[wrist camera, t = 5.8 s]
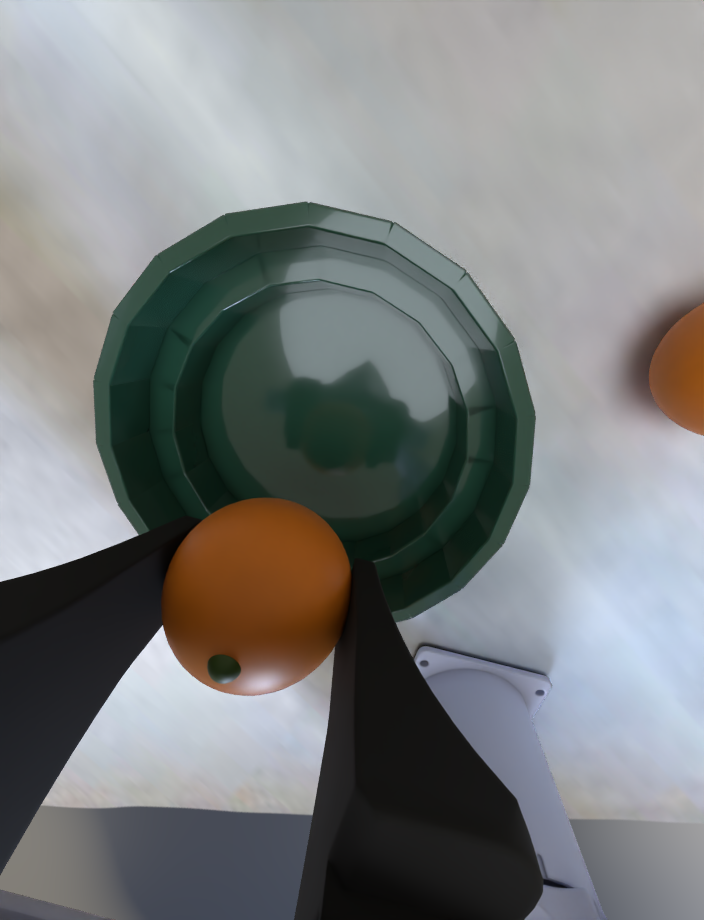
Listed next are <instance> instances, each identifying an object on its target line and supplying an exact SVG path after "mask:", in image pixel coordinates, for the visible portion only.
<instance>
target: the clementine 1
mask: <svg viewBox="0 0 704 920" xmlns="http://www.w3.org/2000/svg"><path fill="white" fill-rule="evenodd" d="M351 586H352V574H351V567H350V563H349V559H348V556H347V554H346V551H345V549H344V547H343V544H342V542H341V541H340V539H339V537H338V536H337V534H336V533H335V532H334V530H333V529H332V528H331V527H330V526H329V524H328V523H327V522H326V521H325V520H324V519H322V518H321V517H320V516H319V515H317V514H316V513H315V512H313V511H312V510H310V509H308V508H307V507H305V506H302V505H300V504H298V503H295V502H292V501H289V500H284V499H279V498H252V499H246V500H242V501H239V502H236V503H233V504H230V505H227V506H225V507H223V508H221V509H219V510H217V511H216V512H214V513H212V514H211V515H209V516H208V517H206V518H205V519H204V520H202V521H201V522H200V523H199V524H198V525H197V526H196V527H195V528H194V529H193V530H192V531H191V532H190V533H189V534H188V535H187V536H186V538H185V539H184V540H183V541H182V543H181V544H180V546H179V547H178V549H177V551H176V552H175V554H174V556H173V558H172V560H171V562H170V564H169V567H168V570H167V572H166V576H165V579H164V583H163V589H162V596H161V614H162V623H163V627H164V631H165V635H166V638H167V641H168V644H169V645H170V647H171V649H172V651H173V653H174V655H175V656H176V658H177V659H178V661H179V662H180V664H181V665H182V666H183V667H184V668H185V669H186V670H187V671H188V672H189V673H190V674H191V675H192V676H194V677H195V678H196V679H197V680H199V681H200V682H202V683H203V684H205V685H207V686H209V687H211V688H213V689H215V690H218V691H221V692H224V693H229V694H234V695H243V696H255V695H263V694H268V693H272V692H276V691H279V690H282V689H284V688H287V687H289V686H291V685H293V684H295V683H297V682H299V681H300V680H302V679H303V678H305V677H306V676H307V675H309V674H310V673H311V672H313V671H314V670H315V669H316V668H317V667H318V666H319V665H320V664H321V663H322V662H323V661H324V660H325V659H326V658H327V656H328V655H329V654H330V653H331V652H332V650H333V648H334V647H335V645H336V644H337V642H338V640H339V639H340V637H341V635H342V632H343V630H344V627H345V623H346V618H347V614H348V608H349V602H350V595H351Z"/></svg>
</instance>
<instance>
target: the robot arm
mask: <svg viewBox="0 0 704 920" xmlns="http://www.w3.org/2000/svg"><path fill="white" fill-rule="evenodd" d="M201 521H202V519H198V518H194V517H190V516H183V517H181V518H178V519H176V520H173V521H171V522H169V523H166V524H164V525H162V526H159V527H157V528H155V529H152V530H150V531H148V532H145V533H143V534H141V535H138V536H136V537H134V538H131V539H129V540H127V541H124V542H122V543H119V544H117V545H114V546H111V547H109V548H106V549H104V550H101V551H98V552H96V553H93V554H91V555H88V556H85V557H83V558H80V559H77V560H74V561H71V562H68V563H65V564H62V565H59V566H56V567H52V568H49V569H46V570H43V571H39V572H36V573H33V574H29V575H26V576H22V577H18V578H14V579H10V580H6V581H2V582H0V875H1V873H2V871H3V869H4V867H5V866H6V864H7V862H8V861H9V859H10V857H11V855H12V854H13V852H14V850H15V848H16V847H17V845H18V843H19V842H20V840H21V838H22V836H23V835H24V833H25V831H26V829H27V828H28V826H29V824H30V823H31V821H32V819H33V817H34V816H35V814H36V812H37V810H38V809H39V807H40V805H41V804H42V802H43V800H44V799H45V797H46V796H47V794H48V792H49V791H50V789H51V787H52V786H53V784H54V782H55V781H56V779H57V777H58V776H59V774H60V772H61V771H62V769H63V768H64V766H65V764H66V763H67V761H68V759H69V758H70V756H71V754H72V753H73V751H74V750H75V748H76V747H77V745H78V743H79V742H80V740H81V739H82V737H83V736H84V734H85V732H86V731H87V729H88V728H89V726H90V725H91V723H92V721H93V720H94V718H95V717H96V715H97V714H98V712H99V711H100V709H101V708H102V706H103V705H104V703H105V702H106V700H107V699H108V697H109V696H110V694H111V692H112V691H113V689H114V688H115V686H116V685H117V683H118V682H119V680H120V679H121V678H122V676H123V675H124V674H125V672H126V671H127V669H128V668H129V667H130V665H131V664H132V663H133V661H134V660H135V659H136V658H137V656H138V655H139V654H140V653H141V651H142V650H143V649H144V648H145V646H146V645H147V644H148V643H149V641H150V640H151V639H152V638H153V636H154V635H155V634H156V633H157V631H158V630H159V629H160V628H161V626H162V625H163V623H162V614H161V596H162V589H163V583H164V579H165V576H166V572H167V570H168V567H169V564H170V562H171V560H172V558H173V556H174V554H175V552H176V551H177V549H178V547H179V546H180V544H181V543H182V541H183V540H184V539H185V538H186V536H187V535H188V534H189V533H190V532H191V531H192V530H193V529H194V528H195V527H196V526H197V525H198V524H199V523H200V522H201ZM351 574H352V586H351V595H350V602H349V608H348V614H347V618H346V623H345V627H344V630H343V632H342V635H341V637H340V639H339V640H338V642H337V644H336V645H335V654H334V666H333V677H332V689H331V701H330V712H329V721H328V729H327V735H326V741H325V747H324V753H323V759H322V765H321V771H320V777H319V783H318V788H317V794H316V800H315V806H314V812H313V818H312V823H311V829H310V834H309V840H308V846H307V851H306V857H305V863H304V869H303V874H302V879H301V885H300V890H299V896H298V902H297V907H296V912H295V918H294V920H608V919H607V917H606V916H605V914H604V913H603V910H602V908H601V905H600V902H599V899H598V897H597V894H596V891H595V889H594V886H593V883H592V881H591V878H590V875H589V873H588V870H587V868H586V865H585V862H584V859H583V857H582V854H581V851H580V849H579V846H578V843H577V840H576V838H575V835H574V832H573V830H572V827H571V824H570V822H569V819H568V816H567V814H566V811H565V808H564V806H563V803H562V800H561V797H560V795H559V792H558V789H557V787H556V784H555V781H554V779H553V776H552V773H551V771H550V768H549V765H548V763H547V760H546V757H545V755H544V752H543V749H542V746H541V744H540V741H539V738H538V736H537V733H536V730H535V728H534V725H533V722H532V719H533V717H534V716H535V714H536V712H537V711H538V709H539V708H540V706H541V704H542V703H543V701H544V700H545V698H546V696H547V695H548V693H549V692H550V690H551V688H552V683H551V681H550V679H549V678H548V677H547V676H544V675H540V674H536V673H532V672H528V671H524V670H520V669H516V668H512V667H508V666H504V665H500V664H496V663H492V662H488V661H484V660H480V659H476V658H472V657H468V656H464V655H460V654H456V653H452V652H448V651H444V650H441V649H437V648H433V647H429V646H423V647H421V648H419V650H418V652H417V654H416V657H415V659H414V660H413V658H412V656H411V654H410V652H409V650H408V648H407V646H406V644H405V642H404V640H403V638H402V636H401V634H400V632H399V630H398V627H397V625H396V623H395V621H394V618H393V616H392V613H391V611H390V608H389V606H388V603H387V600H386V598H385V595H384V592H383V589H382V586H381V583H380V579H379V576H378V572H377V568H376V565H375V563H374V562H371V561H367V560H363V559H359V558H355V560H354V564H353V568H352V571H351ZM423 660H426V661H423ZM0 920H114V919H110V918H106V917H103V916H99V915H95V914H91V913H87V912H84V911H80V910H76V909H72V908H68V907H64V906H61V905H57V904H53V903H49V902H46V901H41V900H38V899H34V898H30V897H26V896H23V895H19V894H15V893H11V892H7V891H4V890H0Z"/></svg>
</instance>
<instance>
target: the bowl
mask: <svg viewBox="0 0 704 920" xmlns="http://www.w3.org/2000/svg"><path fill="white" fill-rule="evenodd" d="M514 340H515V339H514V337H513V335H512V334H511V333H510V331H509V330H508V328H507V327H506V326H505V324H504V323H503V321H502V320H501V319H500V317H499V316H498V314H497V313H496V311H495V310H494V309H493V307H492V306H491V304H490V303H489V302H488V300H487V299H486V297H485V296H484V295H483V293H482V292H481V290H480V289H479V288H478V286H477V285H476V283H475V282H474V280H473V279H472V278H471V276H470V275H469V273H466V270H465V269H463V268H462V267H460V266H459V265H457V264H456V263H455V262H453V261H452V260H450V259H449V258H447V257H446V256H444V255H443V254H441V253H440V252H438V251H437V250H435V249H434V248H432V247H431V246H430V245H428V244H427V243H425V242H424V241H422V240H421V239H419V238H418V237H416V236H415V235H413V234H412V233H410V232H409V231H407V230H406V229H404V228H403V227H402V226H400V225H399V224H397V223H396V222H394V223H393V222H392V221H389V220H385V219H380V218H376V217H372V216H368V215H363V214H359V213H355V212H351V211H346V210H342V209H338V208H334V207H329V206H325V205H321V204H317V203H312V202H310V203H308V202H300V203H293V204H287V205H280V206H273V207H267V208H260V209H253V210H247V211H240V212H233V213H227V214H225V215H222V216H221V217H219V218H217V219H216V220H214V221H212V222H211V223H209V224H207V225H206V226H204V227H202V228H201V229H199V230H197V231H196V232H194V233H192V234H191V235H189V236H187V237H186V238H184V239H182V240H181V241H179V242H177V243H176V244H174V245H172V246H171V247H169V248H167V249H165V250H164V251H162V252H160V253H159V254H158V255H156V256H155V257H154V258H153V260H152V261H151V262H150V264H149V265H148V266H147V268H146V269H145V270H144V272H143V273H142V274H141V276H140V277H139V278H138V280H137V281H136V282H135V283H134V285H133V286H132V287H131V289H130V290H129V291H128V293H127V294H126V295H125V297H124V298H123V299H122V301H121V302H120V303H119V305H118V306H117V307H116V309H115V310H114V311H113V315H112V317H111V320H110V324H109V327H108V331H107V334H106V338H105V341H104V344H103V348H102V351H101V355H100V358H99V362H98V365H97V369H96V372H95V375H94V379H95V380H93V388H94V409H95V430H96V444H97V448H98V451H99V453H100V456H101V459H102V462H103V465H104V467H105V470H106V473H107V476H108V479H109V482H110V484H111V487H112V490H113V493H114V496H115V498H116V501H117V503H118V506H119V507H120V509H121V510H122V512H123V513H124V514H125V516H126V517H127V519H128V520H129V522H130V523H131V524H132V526H133V527H134V529H135V530H136V532H137V533H138V535H141V534H143V533H145V532H148V531H150V530H152V529H155V528H157V527H159V526H162V525H164V524H166V523H169V522H171V521H173V520H176V519H178V518H181V517H183V516H190V517H194V518H198V519H202V520H204V519H205V518H206V517H208V516H209V515H211V514H212V513H214V512H216V511H217V510H219V509H221V508H223V507H225V506H227V505H230V504H233V503H236V502H239V501H242V500H246V499H252V498H279V499H284V500H289V501H292V502H295V503H298V504H300V505H302V506H305V507H307V508H308V509H310V510H312V511H313V512H315V513H316V514H317V515H319V516H320V517H321V518H322V519H324V520H325V521H326V522H327V523H328V524H329V526H330V527H331V528H332V529H333V530H334V532H335V533H336V534H337V536H338V537H339V539H340V541H341V542H342V544H343V547H344V549H345V551H346V554H347V556H348V559H349V563H350V567H351V571H352V568H353V564H354V560H355V558H359V559H363V560H367V561H371V562H374V563H375V565H376V568H377V572H378V576H379V579H380V583H381V586H382V589H383V592H384V595H385V598H386V600H387V603H388V606H389V608H390V611H391V613H392V616H393V618H394V621H395V623H396V622H400V621H404V620H408V619H411V618H413V617H415V616H417V615H419V614H420V613H422V612H424V611H426V610H427V609H429V608H431V607H433V606H434V605H436V604H438V603H439V602H441V601H443V600H445V599H446V598H448V597H450V596H452V595H453V594H455V593H457V592H458V591H460V590H461V589H463V588H464V587H465V586H466V585H467V583H468V582H469V581H470V580H471V579H472V578H473V577H474V576H475V575H476V574H477V573H478V572H479V570H480V569H481V568H482V567H483V566H484V565H485V564H486V563H487V562H488V561H489V560H490V559H491V558H492V556H493V555H494V554H495V553H496V552H497V551H498V550H499V549H500V548H501V547H502V544H504V542H505V540H506V538H507V536H508V533H509V531H510V529H511V527H512V525H513V522H514V520H515V518H516V516H517V514H518V511H519V509H520V507H521V505H522V503H523V500H524V498H525V496H526V494H527V491H528V489H529V485H530V479H531V467H532V456H533V444H534V432H535V420H536V416H535V410H534V406H533V402H532V398H531V395H530V391H529V387H528V384H527V380H526V376H525V373H524V369H523V365H522V362H521V358H520V354H519V350H518V347H517V343H516V341H514Z"/></svg>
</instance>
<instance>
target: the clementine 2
mask: <svg viewBox="0 0 704 920" xmlns="http://www.w3.org/2000/svg"><path fill="white" fill-rule="evenodd" d="M649 385H650V389H651V393H652V395H653V398H654V400H655V402H656V404H657V405H658V406H659V408H660V409H661V410H662V411H663V413H664V414H665V415H666V416H667V417H668V418H669V419H671V420H672V421H674V422H675V423H677V424H678V425H680V426H681V427H683V428H685V429H687V430H689V431H692V432H694V433H697V434H700V435H703V436H704V303H703V304H701V305H699V306H698V307H696V308H694V309H693V310H692V311H690V312H689V313H688V314H686V315H685V316H684V317H682V318H681V319H680V320H679V321H678V322H677V323H676V324H674V325H673V326H672V328H671V329H670V330H669V331H668V332H667V333H666V334H665V336H664V337H663V339H662V340H661V342H660V343H659V345H658V347H657V348H656V350H655V353H654V355H653V357H652V361H651V364H650V370H649Z"/></svg>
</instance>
